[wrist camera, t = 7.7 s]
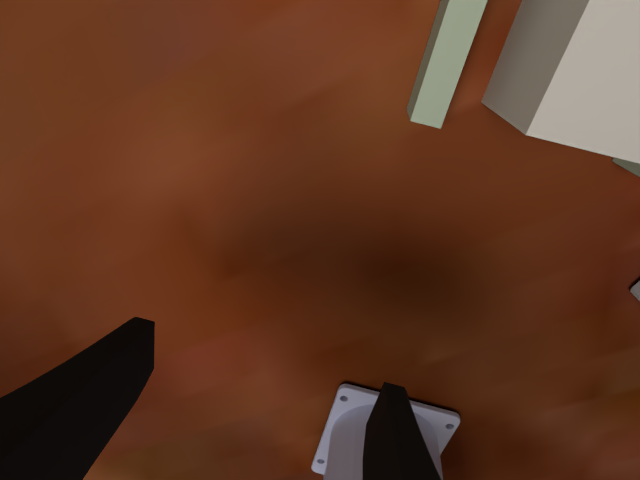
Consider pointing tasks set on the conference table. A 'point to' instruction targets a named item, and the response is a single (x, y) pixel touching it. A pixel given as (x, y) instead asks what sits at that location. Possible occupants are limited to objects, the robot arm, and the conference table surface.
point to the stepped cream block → (573, 75)
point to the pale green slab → (452, 64)
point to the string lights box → (636, 290)
